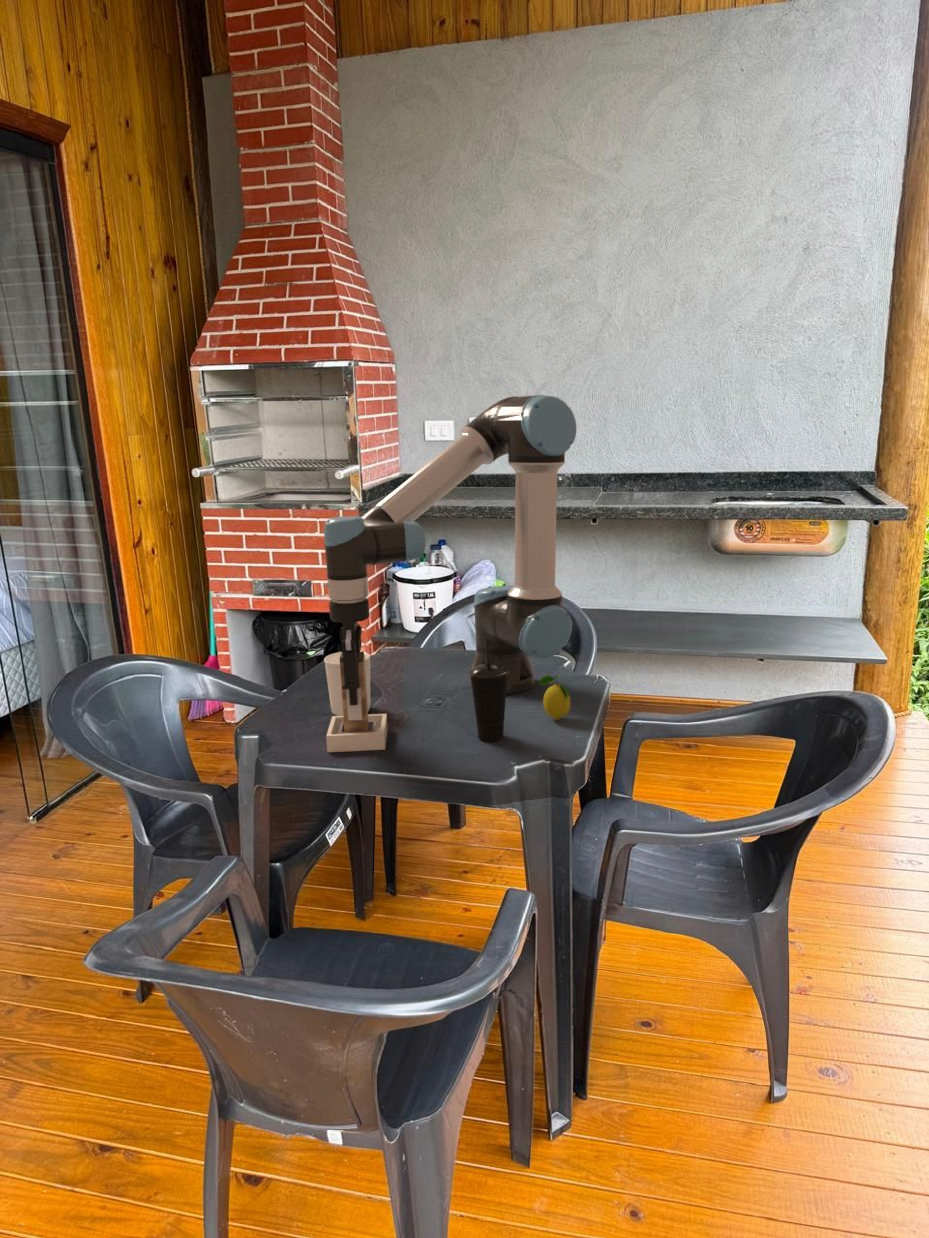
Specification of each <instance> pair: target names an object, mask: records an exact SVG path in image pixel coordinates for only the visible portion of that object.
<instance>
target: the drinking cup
mask: <svg viewBox="0 0 929 1238" xmlns="http://www.w3.org/2000/svg"><path fill="white" fill-rule="evenodd" d="M486 661H487V664H482V665H479V666H477V667H474V668H472V667H471V668H470V669H469V671H468V675H469V678H470V677H471V684H472V688H471V690H472V698H473V707H474V713H475V722H476V728H477V734H478V735H477V737H478V739H479V741H482V742H486V743H494V742H499V741H502V740H503V738H504V729H505V728H504V727H505V726H504V725H505V714H506V713H505V712H506V696H507V694H506V683H507V675H508V669H507V668H505V667H502V666H499V665H496V664H490V645H489V639H486Z"/></svg>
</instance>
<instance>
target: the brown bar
mask: <svg viewBox="0 0 929 1238" xmlns="http://www.w3.org/2000/svg"><path fill="white" fill-rule="evenodd" d="M364 652H365V651H361V652H359V653H358V670H359V684H360V688H361V704H362V720H350V721H348V711H347V696H346V689H342V701H343V715H344V730H345V732H353V731H367V730H368V715H369V713H368V712H369V711H368V709H367V692H366V676H365V660H364ZM340 672H341V686H344V684H345V679H344V666H343V653H341V655H340Z"/></svg>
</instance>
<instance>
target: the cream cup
mask: <svg viewBox="0 0 929 1238" xmlns="http://www.w3.org/2000/svg"><path fill="white" fill-rule="evenodd" d="M363 652H364V660H365V676H366V692H367V709H368V712H369V711H370V709H371V655H370V654H369V653H368V652H365V651H363ZM341 653H342V651H338V652H334V653H330V654H328V655H326V656H325V657H324V659H323V662H324V666H325V667H324V668H325V674H326V681H327V683H326V684H327V688H328V696H329V701H330V702H329V703H330V709H331V713H332V715H333V716H334V715H335V716H344V715H343V701H342V686H341V672H340V655H341Z"/></svg>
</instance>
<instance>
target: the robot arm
mask: <svg viewBox="0 0 929 1238" xmlns="http://www.w3.org/2000/svg"><path fill="white" fill-rule="evenodd" d="M576 421H577V420H576V416H575V414H574V412H573V410H572V409H571V407H570V406H568V404H567V403H566V402H565V401H564V400H562V399H561V398H559V397H556V396H552V395H544V394H537V395H529V396H527V395H526V396H525V395H524V396H509V397H506V398H503V399H500V400H498V401H497V402H496V403H493V404H492V405H490V406H489V407H488V408H486V409H485V410H484V411H482V412H481V413H480V414H479V415H477V416H476V417H475V418H474V419H472V420H471V421H470V422H468V424H466V425H465V426H464V427H462V429H461V431H460V436H459V437H458V438H456V440H454V441H453V442H452V443H450V444H449V445H448V446H447V447H446V448H444V449H443V450H442V451H440V452H439V453H438V454H437V455H436V456H435V457H433V458H432V459H431V460H429V462H427V463H425V465H423V466H422V467H421V468H420V469H418V471H416V472H414V473H413V474H412V476H410V477H408V479H407V480H406V481H404V482H403V483H402V484H400V485H399V486H398V487H397V488H396V489H393V491H391V492H390V493H389V494H388V495H386V497H385V498H383V499H382V500H381V501H380V502H378V503H377V504H376V505H374V506H373V507H372V508H370V509H369V510H367V511H366V512H365V513H364V514H360V515H359V514H358V515H354V516H353V515H352V516H351V515H348V516H345V515H344V516H335V517H330V518H329V519H327V520H325V522H324V526H323V527H324V528H323V539H324V540H323V545H324V553H325V562H326V563H325V564H326V576H327V577H326V578H327V582H325V583H324V587H325V588H326V589H327V588H328V598H329V599H330V601H329V602H328V611H329V618H330V621H332V622H333V623H339V624H340V623H341V624H342V627H340V630H339V640H340V641H341V642H340V645H341V652H342V653H343V666H344V679H345V684H344V686H342V689H346V696H347V711H348V721H350V720H362V704H361V688H360V684H359V670H358V653H359V652H362V633H363V628H362V626H361V625H360V624H359V622H364V621H366V620H367V619H369V618H370V603H369V602H370V601H369V599H368V597H369V580H368V578H369V577H368V566H375V565H382V564H383V565H384V564H392V563H393V564H394V563H403V562H405V563H407V562H409V561H414V560H419V559H421V558H422V557H423V555H425V550H426V546H427V545H426V534H425V531H424V528H423V527H422V526H421V524H420V523H418V522H417V521H416V520H418V518H419V517H421V516H422V515H423V514H424V513H425V512H426V511H428V510H429V509H431V507H433V506H434V505H435V504H437V503H438V502H439V501H440V500H441V499H442V498H444V497H445V496H446V495H448V493H450V492H451V491H452V490H453V489H454V488H456V487H457V486H458V485H459V484H461V483H462V482H463V481H464V480H466V479H467V478H468V477H469V476H470V475H471V474H473V473H474V472H475V471H476V470H478V469H479V468H480V467H481V466H483V465H486V466H487V465H491V464H492V463H493V462H494V461H496V460H497V459H499V458H501V457H502V456H505V455H507V456H508V461H507V463H508V465H509V466H510V467H511V468H512V469H513V470H514V473H515V492H514V495H515V499H514V500H515V501H514V503H515V504H514V505H515V509H514V510H515V511H514V512H515V513H514V515H515V516H514V517H515V519H514V521H515V522H514V541H515V542H514V585H512V584H510V585H499V586H498V585H497V586H490V587H485V588H484V587H483V588H481V589H478V590H477V591H476V592H475V594H474V600H473V602H474V603H473V608H474V626H475V629H474V630H475V656H474V658H473V659H474V660H473V662H472V667H471V669H472V668H474V667H477V666H479V665H482V664H487V661H486V639H489V645H490V664H496V665H499V666H502V667H505V668H507V669H508V675H507V683H506V695H508V694H509V695H510V694H516V693H522V692H525V691H527V690H530V689H532V688H534V687H535V684H536V680H535V679H536V678H535V677H536V675H535V672H534V669H533V666H532V663H531V660H530V657H536V658H539V659H547V658H551V657H553V656H555V655H557V654H558V653H560V652H561V651H562V649H563V648H564V647H565V646H566V645H567V643H568V641H569V640H570V638H571V635H572V630H573V621H572V618H571V615H570V614H569V613H568V611H567V610H566V609H565V608H564V607H563V606H562V605H563V593H562V591H561V590H560V588H559V587H557V586H556V559H557V558H556V556H557V555H556V552H557V551H556V549H557V548H556V547H557V501H558V499H557V497H558V496H557V495H558V494H557V492H558V471H559V470H560V468H562V467H563V466H564V464H565V463H566V461H565V459H566V458H565V457H566V452H568V451H569V449H570V448H571V445H572V444H573V443H574V442H575V441H576V440H575V439H576V436H577V422H576ZM469 687H470V688H471V689H472V684H471V677H470V676H469Z"/></svg>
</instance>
